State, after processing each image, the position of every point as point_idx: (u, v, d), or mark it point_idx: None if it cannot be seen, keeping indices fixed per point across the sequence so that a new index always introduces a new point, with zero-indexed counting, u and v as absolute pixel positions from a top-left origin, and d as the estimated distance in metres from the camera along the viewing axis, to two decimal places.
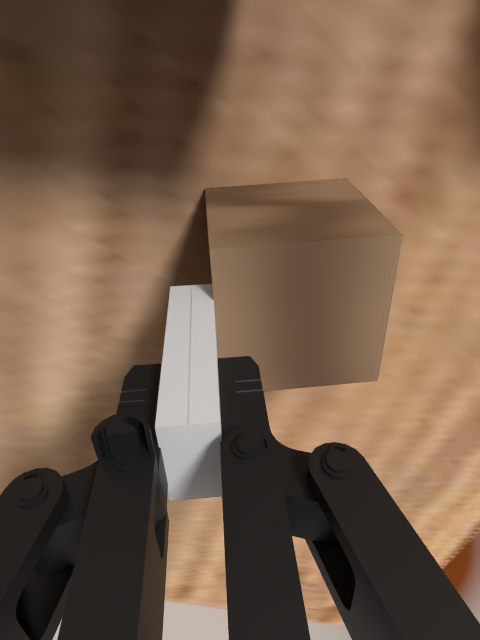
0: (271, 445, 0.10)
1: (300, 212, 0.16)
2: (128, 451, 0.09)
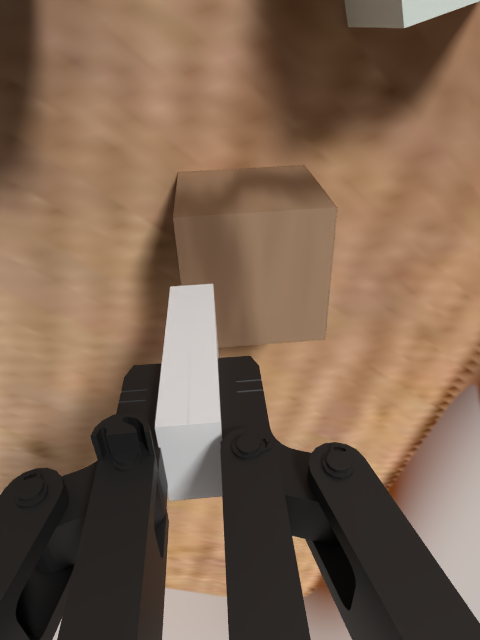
0: (271, 445, 0.10)
1: (258, 184, 0.19)
2: (128, 451, 0.09)
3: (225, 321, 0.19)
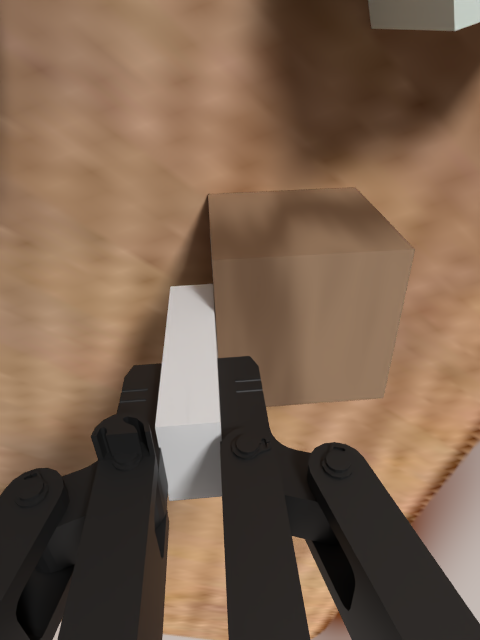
0: (271, 445, 0.10)
1: (308, 213, 0.16)
2: (128, 451, 0.09)
3: (267, 378, 0.16)
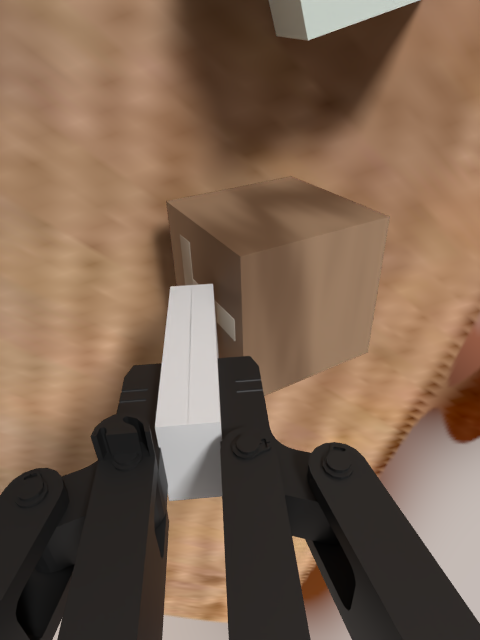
0: (271, 445, 0.10)
1: (278, 203, 0.17)
2: (128, 451, 0.09)
3: (283, 360, 0.16)
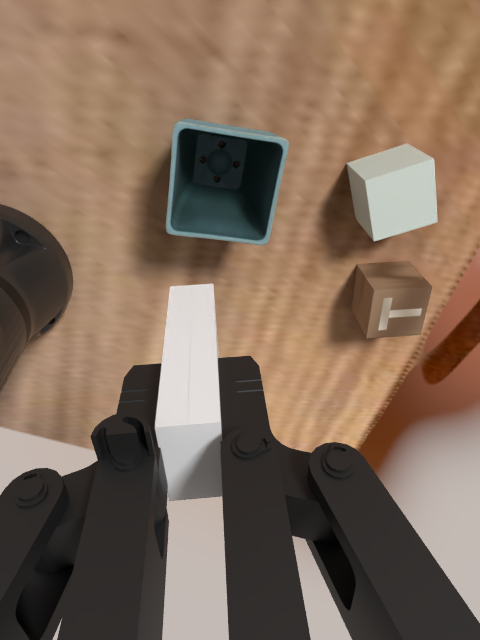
0: (271, 445, 0.10)
1: (388, 272, 0.48)
2: (128, 451, 0.09)
3: None
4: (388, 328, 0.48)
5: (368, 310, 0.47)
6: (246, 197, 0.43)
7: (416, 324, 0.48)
